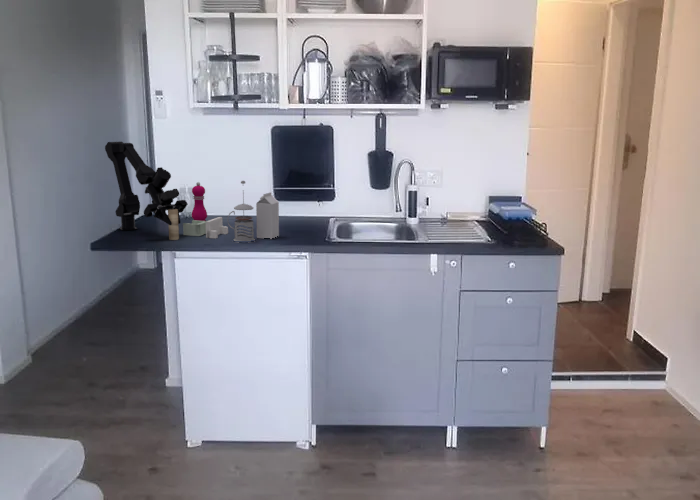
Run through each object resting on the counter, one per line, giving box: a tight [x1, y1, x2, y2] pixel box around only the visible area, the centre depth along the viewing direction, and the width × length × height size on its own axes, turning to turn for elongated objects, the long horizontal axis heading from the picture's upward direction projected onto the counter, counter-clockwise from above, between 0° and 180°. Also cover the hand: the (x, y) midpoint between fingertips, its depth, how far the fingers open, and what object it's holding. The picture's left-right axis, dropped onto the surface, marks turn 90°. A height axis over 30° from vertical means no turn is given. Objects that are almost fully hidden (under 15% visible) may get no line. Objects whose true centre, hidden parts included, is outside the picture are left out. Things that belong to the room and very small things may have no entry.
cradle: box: [182, 219, 207, 237], centre depth 277 cm, size 8×9×5 cm
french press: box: [227, 180, 256, 241], centre depth 263 cm, size 10×12×25 cm
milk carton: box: [255, 191, 280, 240], centre depth 271 cm, size 7×7×19 cm
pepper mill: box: [191, 181, 208, 221], centre depth 298 cm, size 7×7×20 cm
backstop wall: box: [205, 216, 229, 239], centre depth 274 cm, size 4×12×7 cm, turn 165°
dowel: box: [167, 209, 180, 241], centre depth 265 cm, size 4×4×12 cm
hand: (175, 224), depth 264 cm, fingers closed on dowel, 4 cm apart
